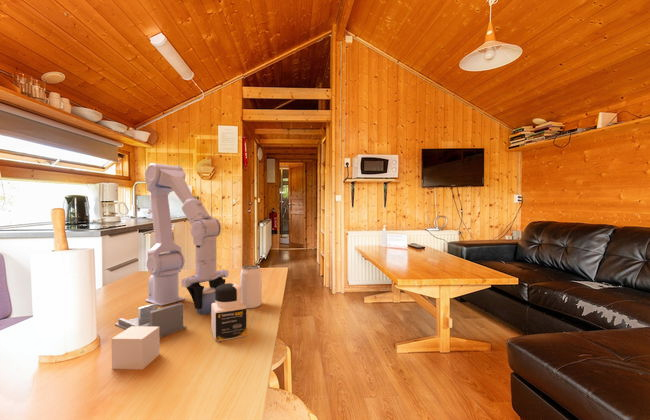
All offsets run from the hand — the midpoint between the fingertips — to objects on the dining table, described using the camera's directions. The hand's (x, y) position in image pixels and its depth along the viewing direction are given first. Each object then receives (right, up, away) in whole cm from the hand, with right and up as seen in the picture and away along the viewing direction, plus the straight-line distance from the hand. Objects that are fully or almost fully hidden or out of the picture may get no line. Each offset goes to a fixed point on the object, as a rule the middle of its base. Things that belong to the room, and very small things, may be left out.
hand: (206, 305), depth 92 cm
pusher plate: (-11, -1, -11) cm, 15 cm away
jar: (0, -2, 0) cm, 2 cm away
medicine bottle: (+11, -2, -16) cm, 19 cm away
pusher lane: (-10, -2, -11) cm, 15 cm away
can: (+12, -2, +6) cm, 13 cm away
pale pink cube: (-3, -3, -29) cm, 29 cm away
